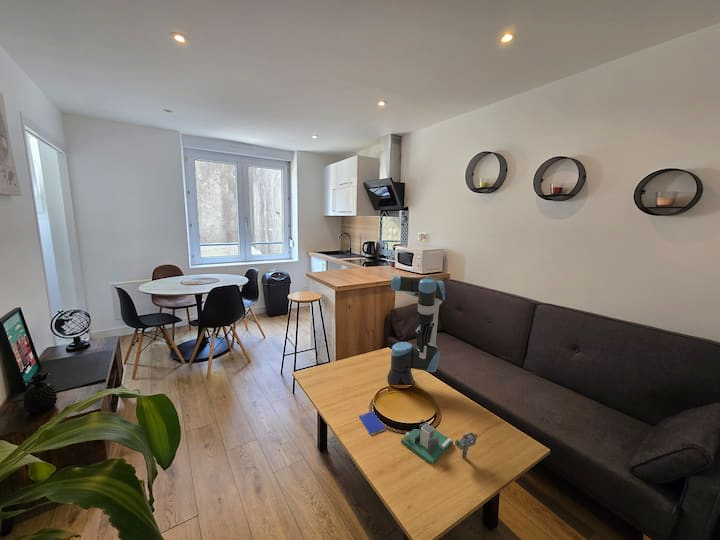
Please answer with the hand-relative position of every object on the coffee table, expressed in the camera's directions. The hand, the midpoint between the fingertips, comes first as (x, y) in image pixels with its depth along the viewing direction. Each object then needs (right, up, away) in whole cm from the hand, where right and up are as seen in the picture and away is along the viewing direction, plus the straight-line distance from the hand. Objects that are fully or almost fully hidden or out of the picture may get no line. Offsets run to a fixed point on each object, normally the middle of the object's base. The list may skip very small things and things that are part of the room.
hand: (422, 357), depth 146 cm
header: (-2, -33, -16) cm, 36 cm away
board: (-1, -34, -14) cm, 36 cm away
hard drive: (-25, -31, -2) cm, 40 cm away
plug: (-2, -33, -16) cm, 36 cm away
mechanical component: (+13, -36, -21) cm, 43 cm away
